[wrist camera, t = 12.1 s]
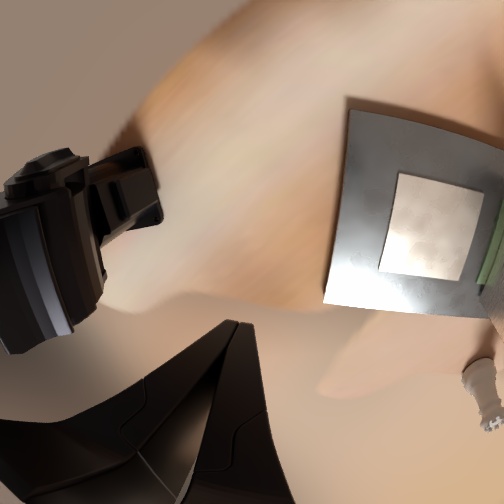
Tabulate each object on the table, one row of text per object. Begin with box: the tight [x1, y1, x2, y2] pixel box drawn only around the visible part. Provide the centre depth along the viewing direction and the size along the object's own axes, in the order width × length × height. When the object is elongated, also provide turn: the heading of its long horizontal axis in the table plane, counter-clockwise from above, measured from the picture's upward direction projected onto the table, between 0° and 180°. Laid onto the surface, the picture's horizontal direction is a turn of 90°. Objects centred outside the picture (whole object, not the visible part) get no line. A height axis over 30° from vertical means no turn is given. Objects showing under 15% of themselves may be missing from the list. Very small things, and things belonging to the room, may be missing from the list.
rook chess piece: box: [462, 358, 504, 432], centre depth 19 cm, size 4×4×8 cm
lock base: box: [324, 109, 504, 319], centre depth 15 cm, size 20×14×6 cm
